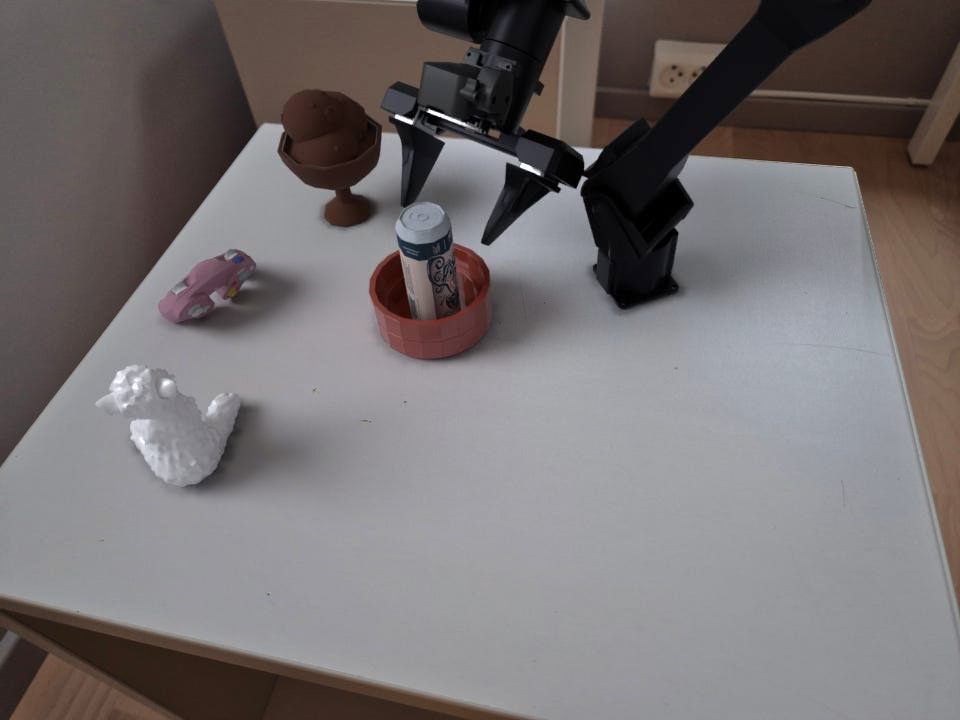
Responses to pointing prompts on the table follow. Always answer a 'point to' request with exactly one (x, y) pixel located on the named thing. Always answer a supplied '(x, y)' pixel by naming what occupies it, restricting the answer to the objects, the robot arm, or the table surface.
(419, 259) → the beer can
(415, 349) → the red bowl
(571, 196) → the table surface
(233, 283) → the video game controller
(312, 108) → the ice cream bowl
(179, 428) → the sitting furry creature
